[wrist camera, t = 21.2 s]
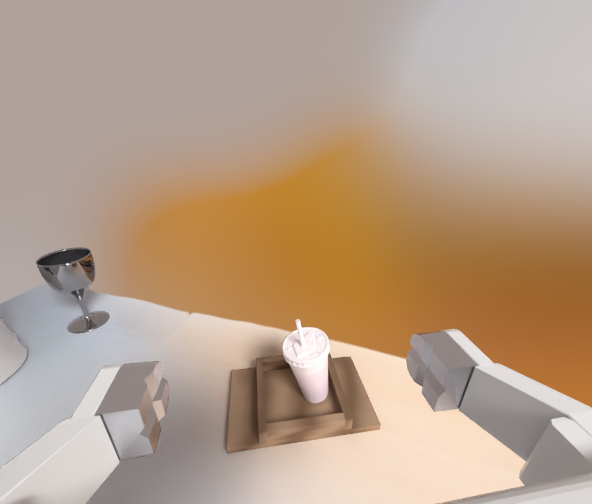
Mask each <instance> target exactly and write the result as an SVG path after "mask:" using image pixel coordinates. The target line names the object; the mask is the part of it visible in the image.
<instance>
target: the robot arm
mask: <svg viewBox="0 0 592 504" xmlns="http://www.w3.org/2000/svg"><path fill="white" fill-rule="evenodd" d="M410 344H411V345H412V347H413V348H412V349H411V350H410V351H409V352H408V354H407V359H406V362H407V368H408V371H409V373H410V376H411V377H412V379H413V380H414V382H416V383H417V384H419V385H420V386H422V394H423V396H424V397H425V399H426V400H427V402H428V403H429V405H430V406H431V408H432V409H433V411H434V412H436V411H444V410H452V409H459V411H461V412H462V413H463V414H465V415H466V416H467V417H469V418H470V419H471V420H472V421H474V422H475V423H476V424H478V425H479V426H480V427H482V428H483V429H484V430H486V431H487V432H488V433H490V434H491V435H492V436H494V437H495V438H496V439H498V440H499V441H500V442H501V443H503V444H504V445H505V446H507V447H508V448H509V449H511V450H512V451H513V452H515V453H516V454H517V455H519V456H520V457H521V458H523V459H524V460H525V461H526V463H525V464H524V466H523V468H522V470H521V471H520V476H519V478H520V480H521V481H522V482H523V484H524V485H525V486H521V487H516V488H511V489H506V490H501V491H496V492H491V493H486V494H481V495H476V496H472V497H467V498H462V499H457V500H452V501H447V502H442V503H437V504H592V408H591V407H589V406H587V405H585V404H582V403H581V402H578V401H576V400H574V399H572V398H570V397H568V396H566V395H564V394H562V393H560V392H557V391H555V390H553V389H551V388H549V387H547V386H544V385H543V384H541V383H539V382H536V381H534V380H532V379H530V378H528V377H526V376H524V375H522V374H520V373H517V372H515V371H513V370H511V369H509V368H507V367H505V366H503V365H501V364H494V363H493V362H492V361H491V360H490V359H489V358H488V357H487V356H486V355H484V354H483V353H482V352H481V351H480V350H479V349H478V348H477V347H476V346H475V345H474V344H473V343H472V342H471V341H470V340H469V339H468V338H467V337H466V336H465V335H463V333H462V332H460V331H459V330H457V329H449V330H442V331H433V332H425V333H416V334H413V336H412V337H411V341H410ZM26 357H27V349H26V347H25V346H24V345H22V344H21V343H20V342H19V341H18V336H17V334H16V333H15V332H10V330H9V329H8V328H7V326H6V325H5V324H4V322H3V321H2V320H1V318H0V384H1V383H2V382H4V381H5V380H6V379H8V378H9V377H10V376H11V375H13V374H14V373H15V372H16V371H17V370H18V369H19V368H20V367H21V365H22V364H23V363H24V361H25V359H26ZM163 373H164V367H163V364H162V362H160V361H155V362H143V363H130V364H124V365H111V366H105V367H104V368H102V369H101V370H100V371H99V373H98V375H97V376H96V378H95V380H94V381H93V383H92V384H91V386H90V388H89V389H88V391H87V392H86V394H85V396H84V397H83V399H82V401H81V402H80V404H79V405H78V407H77V409H76V410H75V412H74V413H73V415H72V417H71V418H70V419H66V420H63V421H62V422H60V423H59V424H58V425H56V426H55V427H54V428H53V429H51V430H50V431H49V432H47V433H46V434H45V435H43V436H42V437H41V438H40V439H38V440H37V441H36V442H34V443H33V444H32V445H30V446H29V447H28V448H26V449H25V450H24V451H23V452H21V453H20V454H19V455H17V456H16V457H15V458H13V459H12V460H11V461H10V462H8V463H7V464H6V465H4V466H3V467H2V468H0V504H86V503H87V502H88V500H89V499H90V498H91V497H92V496H93V494H94V493H95V492H96V491H97V490H98V488H99V487H100V486H101V485H102V484H103V482H104V481H105V480H106V479H107V477H108V476H109V475H110V474H111V473H112V471H113V470H114V469H115V468H116V467H117V465H118V464H119V463H120V461H119V460H125V459H130V458H136V457H141V456H147V455H152V454H154V452H155V448H156V445H157V441H158V438H159V435H160V431H161V428H160V425H159V421H160V420H161V419H162V418H163V417H164V416H165V414H166V411H167V407H168V401H169V386H168V382H167V380H165V379H164V378H162V376H163Z"/></svg>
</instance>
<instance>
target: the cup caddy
mask: <svg viewBox="0 0 592 504" xmlns="http://www.w3.org/2000/svg"><path fill="white" fill-rule="evenodd" d="M256 365H257V367H256V368H248V369H239V370H232V378H231V392H230V406H229V420H228V435H227V453H232V452H238V451H245V450H251V449H257V448H264V447H270V446H276V445H283V444H289V443H295V442H302V441H308V440H314V439H321V438H327V437H334V436H340V435H346V434H353V433H359V432H365V431H372V430H378V429H380V422H379V420H378V418H377V415H376V413H375V411H374V409H373V406H372V404H371V402H370V400H369V397H368V395H367V393H366V391H365V388H364V386H363V384H362V381H361V379H360V377H359V375H358V372H357V370H356V368H355V366H354V363H353V361H352V359H351V357H343V358H334V359H332V358H331V355H330V353H329V354H328V395H327V397H326V398H325V399H324V400H323V401H322V402H319V403H311V402H308V401H307V400H306V399H305V397H304V395H303V393H302V391H301V388H300V386H299V384H298V382H297V380H296V377H295V375H294V373H293V371H292V369H291V367H290V364H289V363H288V362H286V360H285V358H284V356H283V355H281V356H272V357H263V358H256Z"/></svg>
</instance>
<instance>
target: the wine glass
mask: <svg viewBox="0 0 592 504" xmlns="http://www.w3.org/2000/svg"><path fill="white" fill-rule="evenodd" d="M36 263H37V266H38V268H39V270H40V273H41V274H42V276H43V278H44V279H45V281H46V282H47V283H48V285H49V286H50V287H51V288H52V289H54V290H55V291H57V292H60V293H63V294H66V295H68V296H71V297H73V298H74V299H75V300H77V302H78V303H79V305H80V307H81V309H82V311H83V313H84V315H81V316H79V317H77V318H76V319H74V320H73V321H72V322H71V323H70V324H69V325H68V331H69V332H71V333H85V332H88V331H92V330H94V329H96V328H98V327H100V326H102V325H103V324H104V323H106V322H107V321H108V319H109V314H108V313H107V312H105V311H94V312H90V313H88V310H87V307H86V303H85V294H86V292H87V290H88V289H89V287H90V285H91V284H92V282H93V281H94V278H95V265H94V261H93V257H92V254H91V251H90V250H89V249H88V248H69V249H62V250H58V251H55V252H51V253H48V254H46V255H44V256H42V257H40V258H39V259H38V260H37V261H36Z"/></svg>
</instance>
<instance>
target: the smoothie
mask: <svg viewBox="0 0 592 504" xmlns="http://www.w3.org/2000/svg"><path fill="white" fill-rule="evenodd" d="M296 325H297V330H295V331H293V332H291V333H290V334H289V335H288V336H287V337H286V338H285V340H284V342H283V345H282V351H283V356H284V358H285V360H286V362H288V363H289V364H290V367H291V369H292V371H293V373H294V375H295V377H296V380H297V382H298V384H299V386H300V388H301V391H302V393H303V395H304V397H305V399H306V400H307V401H308V402H311V403H319V402H322V401H323V400H324V399H325V398H326V397H327V395H328V354H329V351H330V343H329V340H328V337H327V335H326V334H325V333H324V332H323V331H322V330H320V329H317V328H312V327H305V328H301V323H300V320H299V319H297V320H296Z"/></svg>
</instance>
